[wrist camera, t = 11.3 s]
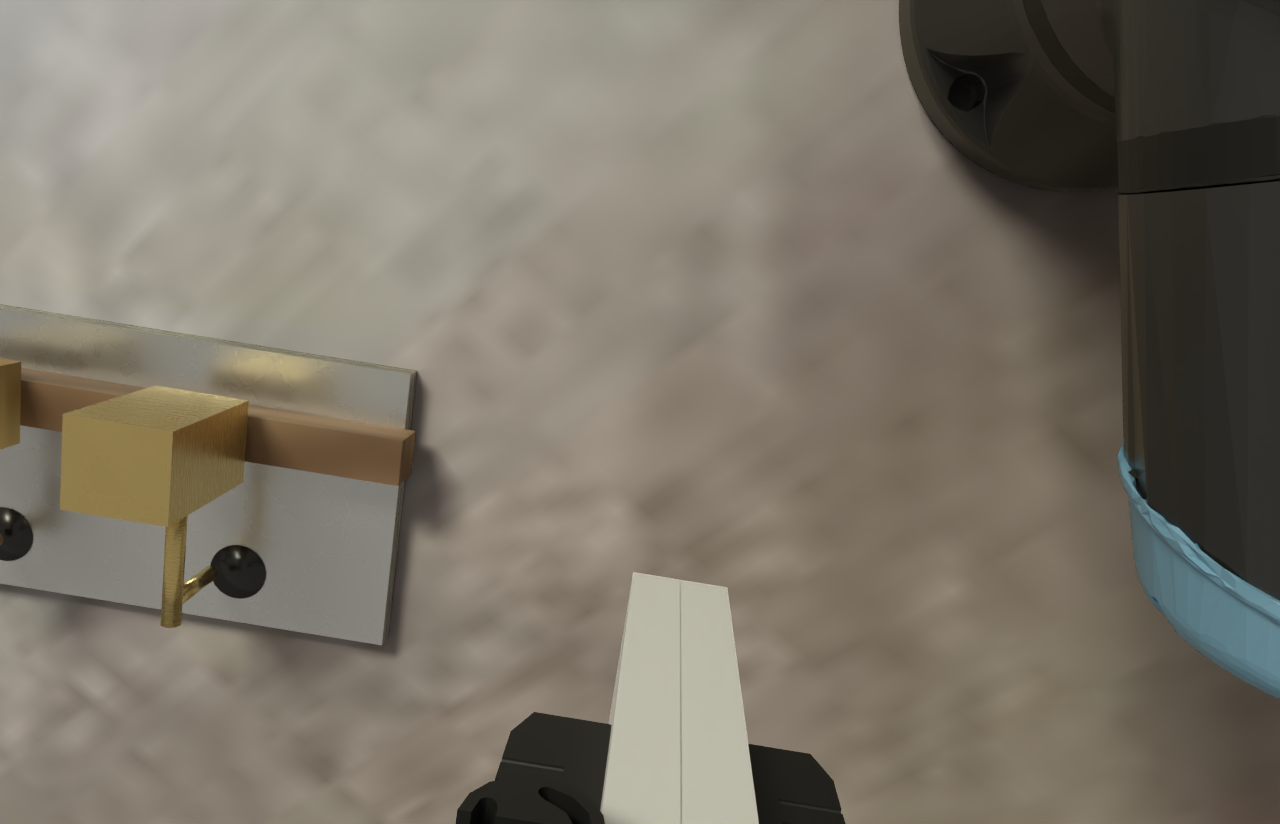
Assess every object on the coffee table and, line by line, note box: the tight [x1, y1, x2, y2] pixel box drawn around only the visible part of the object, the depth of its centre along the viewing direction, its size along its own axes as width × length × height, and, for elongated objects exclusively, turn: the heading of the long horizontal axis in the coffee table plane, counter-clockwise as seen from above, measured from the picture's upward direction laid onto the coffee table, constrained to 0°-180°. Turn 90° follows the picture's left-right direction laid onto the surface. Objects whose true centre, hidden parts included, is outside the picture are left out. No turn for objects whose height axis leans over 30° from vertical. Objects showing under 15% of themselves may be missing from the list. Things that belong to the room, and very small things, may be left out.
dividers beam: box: [0, 358, 416, 545], centre depth 39 cm, size 10×21×8 cm, turn 81°
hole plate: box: [0, 304, 417, 645], centre depth 43 cm, size 13×21×1 cm, turn 81°
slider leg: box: [60, 386, 249, 628], centre depth 38 cm, size 10×4×8 cm, turn 171°
